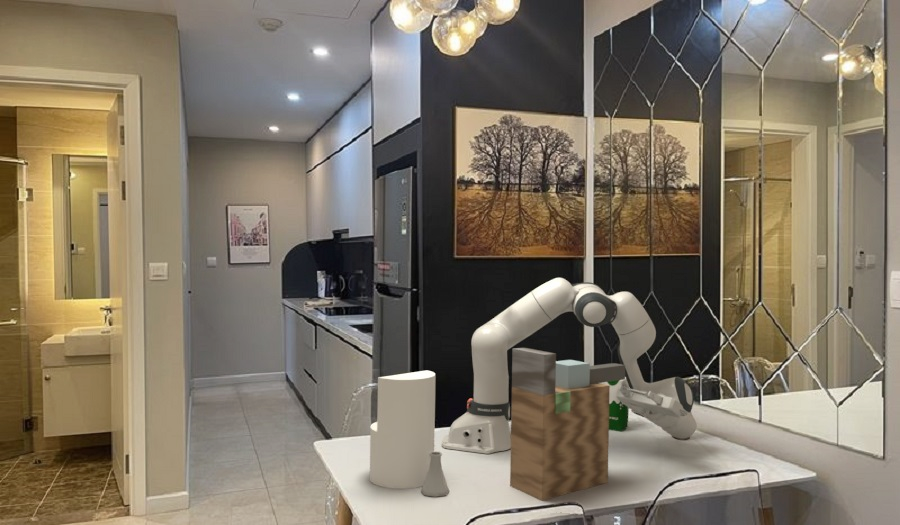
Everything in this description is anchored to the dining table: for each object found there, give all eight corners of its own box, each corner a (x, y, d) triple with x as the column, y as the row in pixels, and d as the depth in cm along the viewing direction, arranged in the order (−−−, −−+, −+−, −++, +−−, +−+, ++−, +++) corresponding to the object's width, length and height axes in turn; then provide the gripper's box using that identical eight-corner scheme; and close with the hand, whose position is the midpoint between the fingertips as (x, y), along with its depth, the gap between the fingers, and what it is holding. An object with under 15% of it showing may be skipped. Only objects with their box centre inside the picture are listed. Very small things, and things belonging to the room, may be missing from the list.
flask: (448, 487, 168) (449, 448, 168) (449, 497, 161) (450, 457, 160) (420, 487, 168) (421, 448, 167) (420, 497, 160) (421, 457, 160)
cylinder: (446, 478, 175) (448, 374, 174) (397, 493, 163) (399, 382, 162) (405, 462, 187) (407, 366, 187) (356, 476, 175) (358, 372, 175)
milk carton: (598, 428, 229) (599, 372, 228) (607, 423, 236) (608, 368, 236) (623, 432, 224) (624, 374, 224) (631, 427, 232) (632, 371, 231)
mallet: (567, 388, 168) (568, 365, 168) (549, 384, 173) (549, 361, 173) (629, 380, 181) (629, 358, 181) (609, 376, 187) (610, 355, 187)
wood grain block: (542, 500, 159) (545, 354, 159) (509, 485, 170) (511, 348, 169) (608, 482, 173) (611, 348, 173) (574, 469, 183) (576, 342, 183)
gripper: (686, 426, 186) (660, 407, 179) (629, 412, 202) (603, 393, 195) (693, 406, 187) (668, 386, 180) (636, 393, 204) (611, 374, 197)
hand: (634, 390), depth 188 cm, fingers open, 8 cm apart
